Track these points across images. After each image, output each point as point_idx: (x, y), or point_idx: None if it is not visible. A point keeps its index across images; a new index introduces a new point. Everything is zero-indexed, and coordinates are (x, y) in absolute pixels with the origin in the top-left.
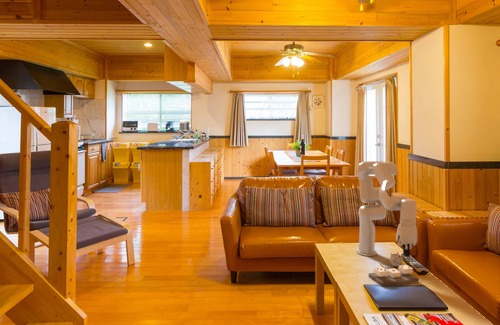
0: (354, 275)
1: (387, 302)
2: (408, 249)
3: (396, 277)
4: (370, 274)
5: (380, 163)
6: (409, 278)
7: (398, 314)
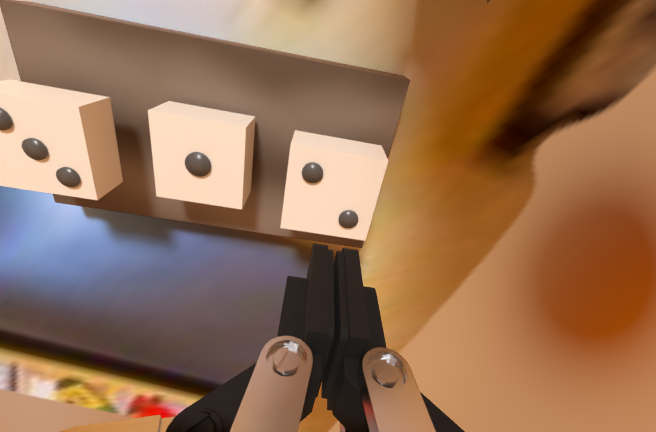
0: None
1: (27, 312)
2: (331, 394)
3: None
4: (12, 31)
5: None
6: None
7: (36, 374)
